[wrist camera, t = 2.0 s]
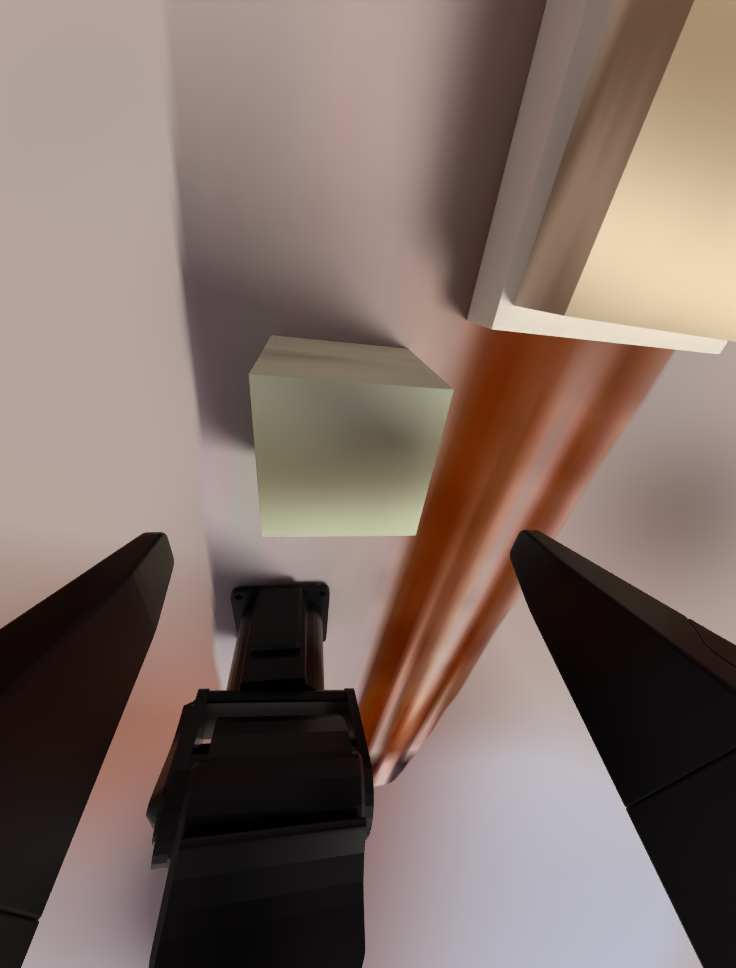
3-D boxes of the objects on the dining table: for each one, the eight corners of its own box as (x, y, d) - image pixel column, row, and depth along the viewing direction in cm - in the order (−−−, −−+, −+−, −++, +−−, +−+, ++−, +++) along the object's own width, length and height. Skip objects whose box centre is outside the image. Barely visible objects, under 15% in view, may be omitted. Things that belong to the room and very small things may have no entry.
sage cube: (387, 461, 18) (415, 535, 13) (276, 458, 17) (262, 536, 12) (407, 348, 15) (454, 389, 10) (271, 335, 14) (248, 374, 9)
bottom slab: (660, 341, 17) (719, 354, 14) (462, 318, 15) (491, 329, 12) (856, -10, 11) (1015, -91, 8) (569, -125, 9) (666, -270, 7)
